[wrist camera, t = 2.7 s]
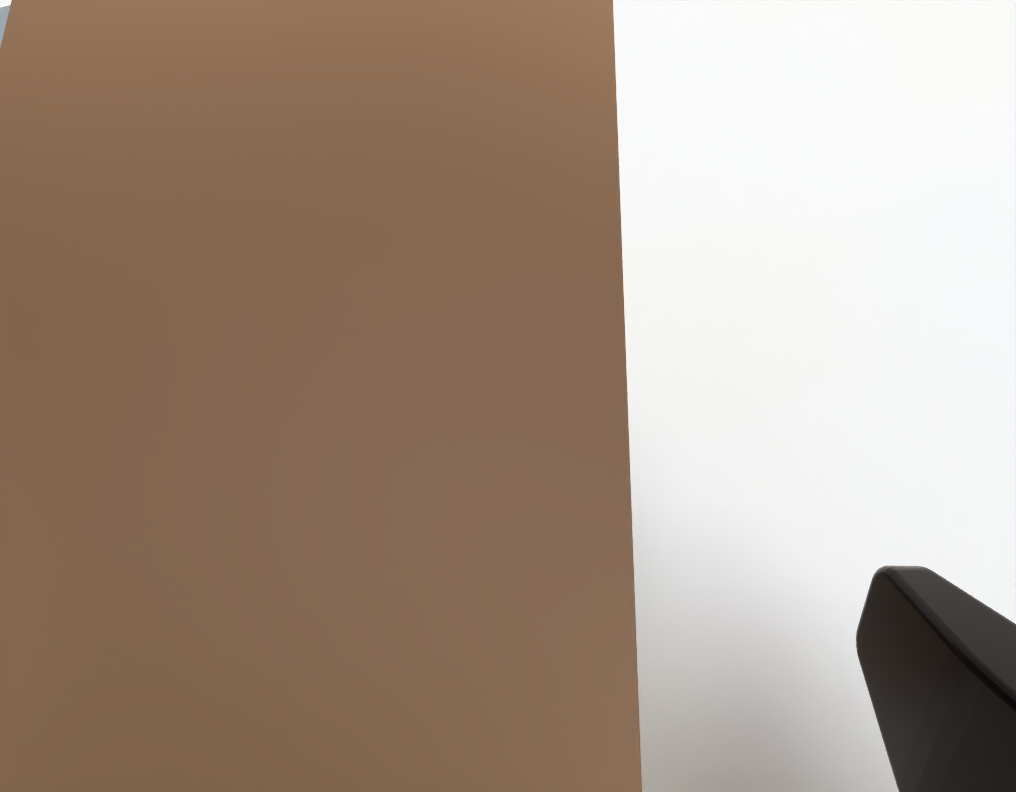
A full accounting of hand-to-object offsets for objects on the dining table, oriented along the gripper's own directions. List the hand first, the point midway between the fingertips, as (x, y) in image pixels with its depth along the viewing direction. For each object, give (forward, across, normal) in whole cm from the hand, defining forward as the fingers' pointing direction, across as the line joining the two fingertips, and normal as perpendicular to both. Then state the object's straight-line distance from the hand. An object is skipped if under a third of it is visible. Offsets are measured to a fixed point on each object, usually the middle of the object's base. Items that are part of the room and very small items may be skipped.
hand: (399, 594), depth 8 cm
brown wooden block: (+7, 0, +5) cm, 9 cm away
